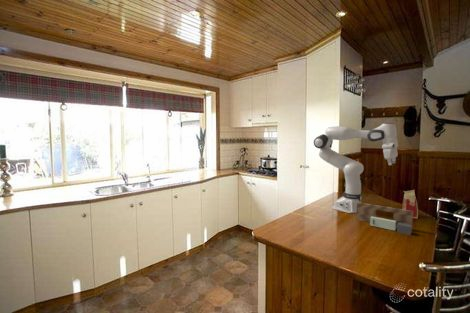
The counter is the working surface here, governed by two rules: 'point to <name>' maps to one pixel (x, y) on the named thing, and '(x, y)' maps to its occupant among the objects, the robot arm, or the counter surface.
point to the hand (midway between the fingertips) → (392, 164)
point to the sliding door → (383, 223)
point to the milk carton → (410, 202)
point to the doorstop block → (404, 228)
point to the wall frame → (370, 210)
